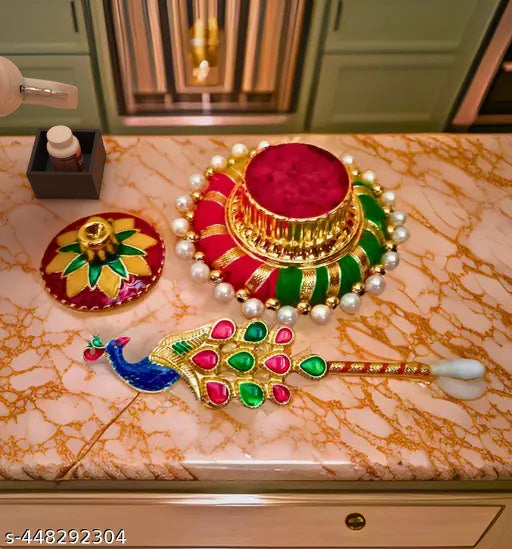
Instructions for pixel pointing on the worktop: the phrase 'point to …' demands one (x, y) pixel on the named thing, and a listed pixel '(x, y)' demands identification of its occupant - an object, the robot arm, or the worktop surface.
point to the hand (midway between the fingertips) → (31, 94)
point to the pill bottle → (65, 150)
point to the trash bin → (67, 183)
